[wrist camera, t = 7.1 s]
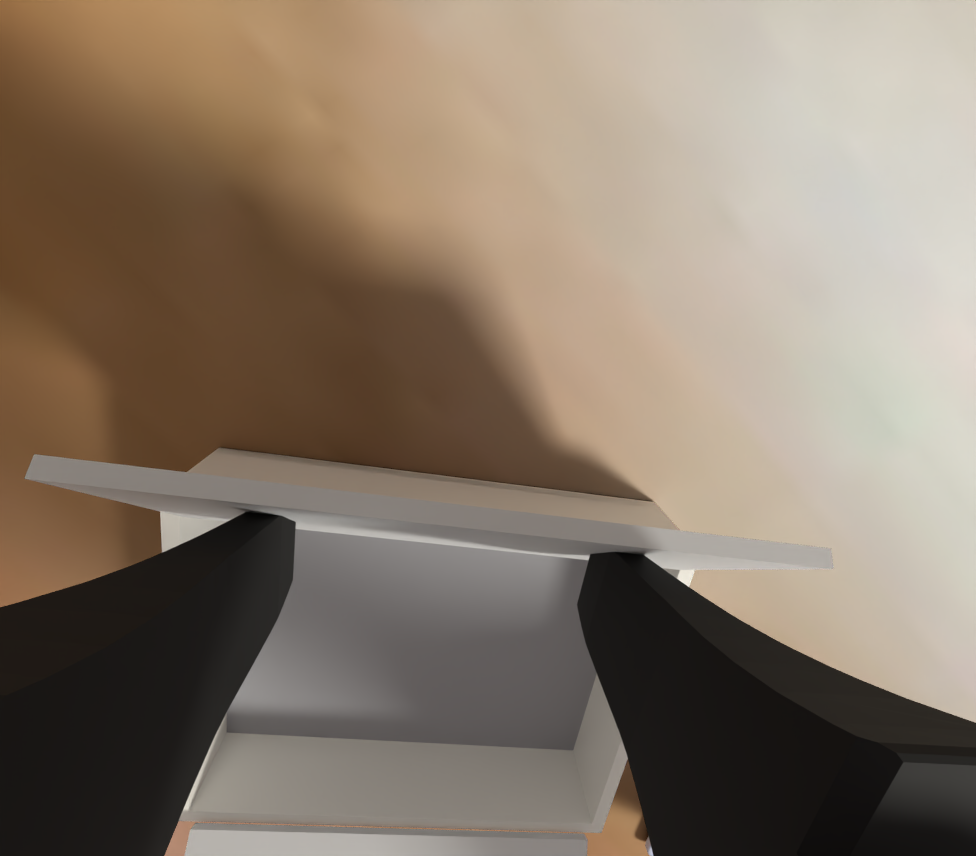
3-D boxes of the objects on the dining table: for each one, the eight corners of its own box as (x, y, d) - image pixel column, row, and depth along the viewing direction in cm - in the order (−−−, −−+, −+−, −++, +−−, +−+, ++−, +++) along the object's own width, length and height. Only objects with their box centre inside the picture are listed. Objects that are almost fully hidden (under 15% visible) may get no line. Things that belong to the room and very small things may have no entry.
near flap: (182, 517, 13) (187, 501, 13) (680, 569, 14) (679, 556, 14) (24, 478, 7) (34, 454, 7) (833, 569, 9) (831, 548, 9)
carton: (654, 501, 18) (701, 553, 15) (578, 748, 22) (601, 832, 19) (219, 447, 16) (159, 492, 13) (219, 729, 20) (173, 820, 17)
